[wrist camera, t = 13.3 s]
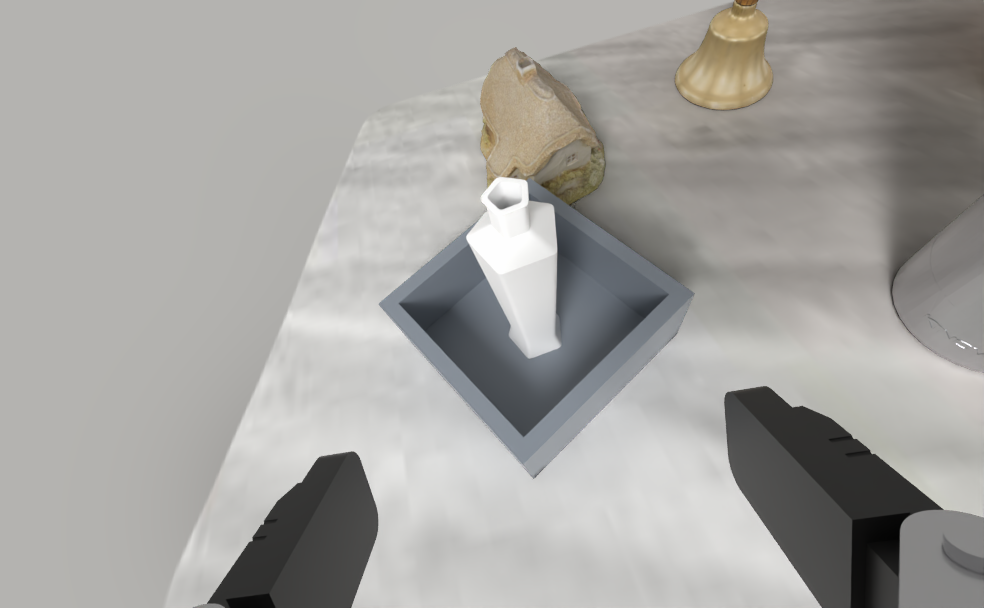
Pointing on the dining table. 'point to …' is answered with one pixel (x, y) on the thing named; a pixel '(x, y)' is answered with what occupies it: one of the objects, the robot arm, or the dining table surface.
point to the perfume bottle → (520, 263)
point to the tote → (583, 323)
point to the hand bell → (729, 61)
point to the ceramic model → (537, 130)
